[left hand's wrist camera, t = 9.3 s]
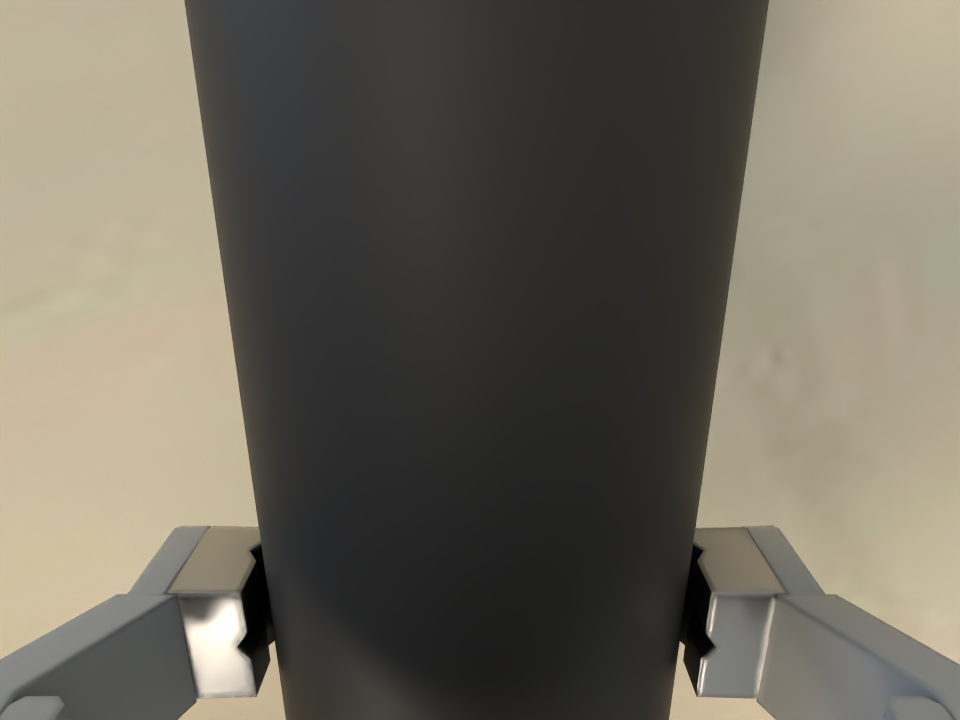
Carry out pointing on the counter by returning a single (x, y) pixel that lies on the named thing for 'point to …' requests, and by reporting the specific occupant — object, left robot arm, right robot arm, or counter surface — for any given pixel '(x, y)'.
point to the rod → (477, 334)
